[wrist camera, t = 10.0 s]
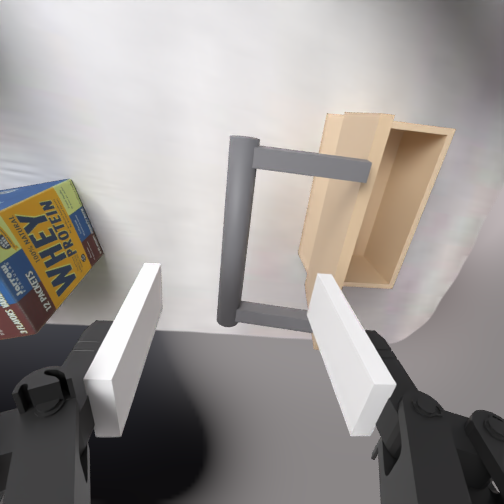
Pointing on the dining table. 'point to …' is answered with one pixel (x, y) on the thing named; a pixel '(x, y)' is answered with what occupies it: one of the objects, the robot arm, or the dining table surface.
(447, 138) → the carton
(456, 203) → the dining table surface
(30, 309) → the protein box
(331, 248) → the flap
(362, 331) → the robot arm
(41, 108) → the dining table surface
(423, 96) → the dining table surface
